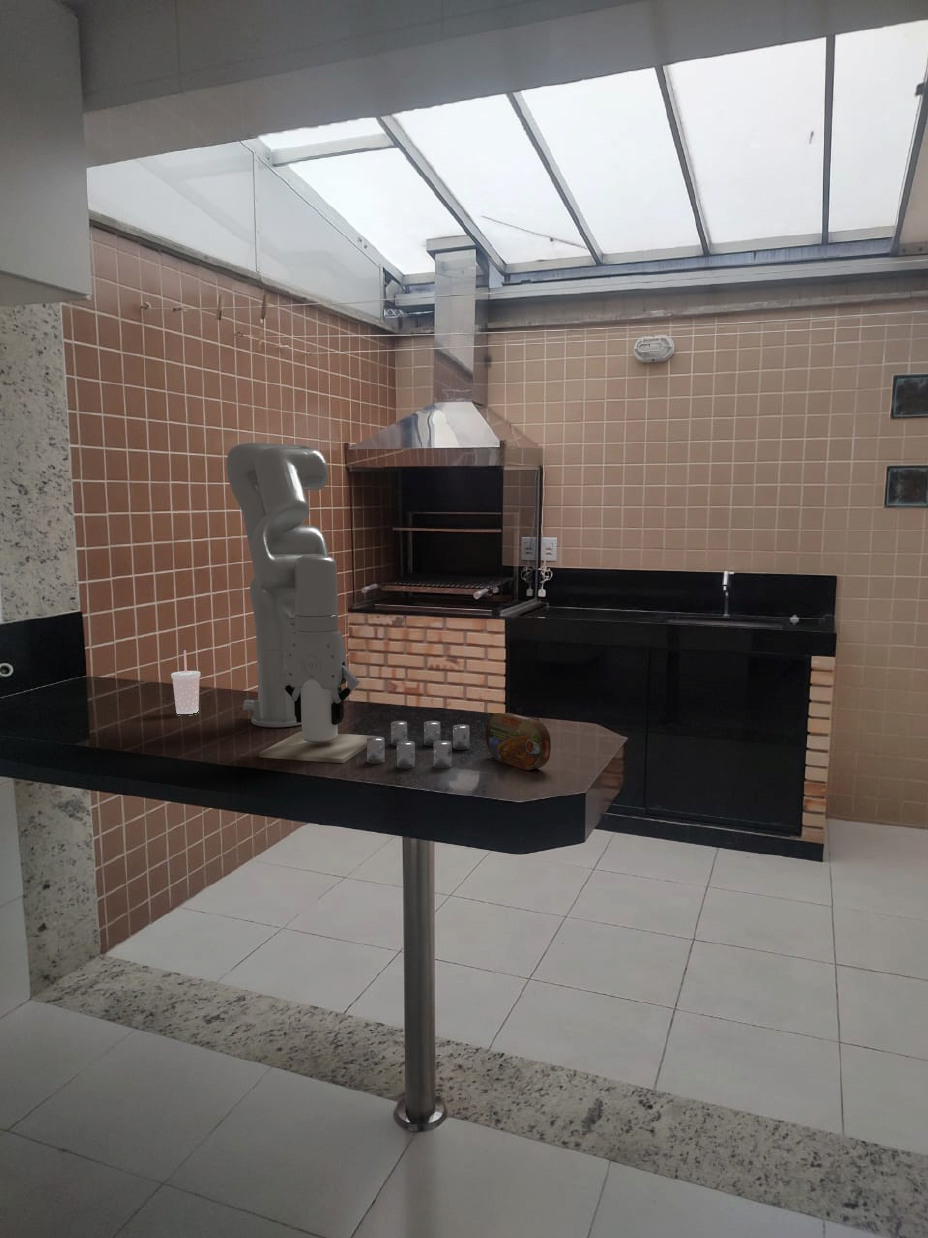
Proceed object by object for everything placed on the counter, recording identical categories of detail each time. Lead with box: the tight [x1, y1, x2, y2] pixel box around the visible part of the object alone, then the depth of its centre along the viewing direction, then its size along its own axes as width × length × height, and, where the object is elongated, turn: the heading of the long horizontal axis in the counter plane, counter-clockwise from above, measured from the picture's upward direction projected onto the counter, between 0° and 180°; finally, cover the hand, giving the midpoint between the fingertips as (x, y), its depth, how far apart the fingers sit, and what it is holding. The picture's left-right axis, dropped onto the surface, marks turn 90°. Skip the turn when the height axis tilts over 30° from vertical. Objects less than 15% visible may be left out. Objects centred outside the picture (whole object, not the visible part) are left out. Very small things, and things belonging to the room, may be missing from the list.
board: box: [258, 730, 376, 764], centre depth 149 cm, size 16×16×1 cm
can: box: [301, 676, 339, 742], centre depth 148 cm, size 6×6×12 cm
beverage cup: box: [170, 649, 201, 715], centre depth 178 cm, size 6×6×14 cm
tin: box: [485, 712, 552, 771], centre depth 138 cm, size 15×3×8 cm, turn 35°
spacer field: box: [366, 720, 470, 770], centre depth 144 cm, size 15×18×4 cm
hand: (319, 721), depth 148 cm, fingers closed on can, 6 cm apart
